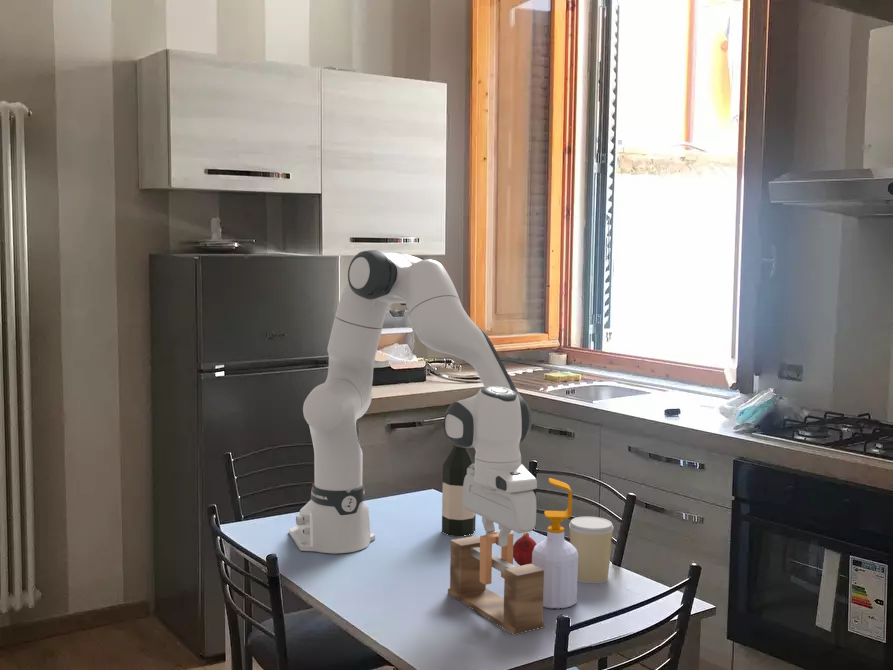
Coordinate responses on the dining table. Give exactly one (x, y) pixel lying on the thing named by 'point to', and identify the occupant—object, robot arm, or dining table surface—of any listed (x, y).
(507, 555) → the wooden arch
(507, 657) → the dining table surface
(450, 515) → the wine bottle
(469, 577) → the wooden rail stand
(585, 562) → the coffee cup
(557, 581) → the soap bottle
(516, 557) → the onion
